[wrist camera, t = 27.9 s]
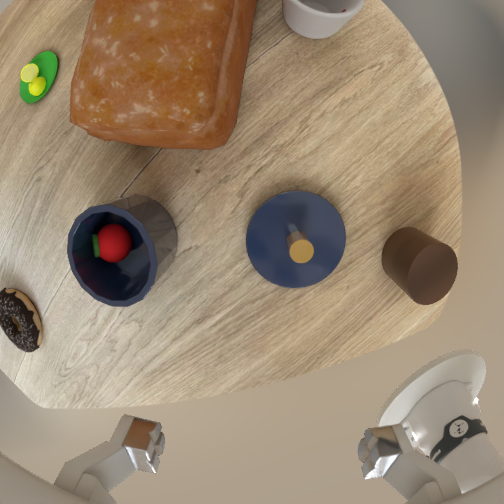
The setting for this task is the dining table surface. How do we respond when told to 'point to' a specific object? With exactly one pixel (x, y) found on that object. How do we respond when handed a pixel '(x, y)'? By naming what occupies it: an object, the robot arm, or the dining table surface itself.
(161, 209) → the pot
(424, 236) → the stand
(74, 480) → the robot arm
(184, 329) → the dining table surface
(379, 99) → the dining table surface
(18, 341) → the donut
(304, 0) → the cup
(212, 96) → the bread
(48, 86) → the green dish with lemons
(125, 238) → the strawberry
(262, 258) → the pot lid
